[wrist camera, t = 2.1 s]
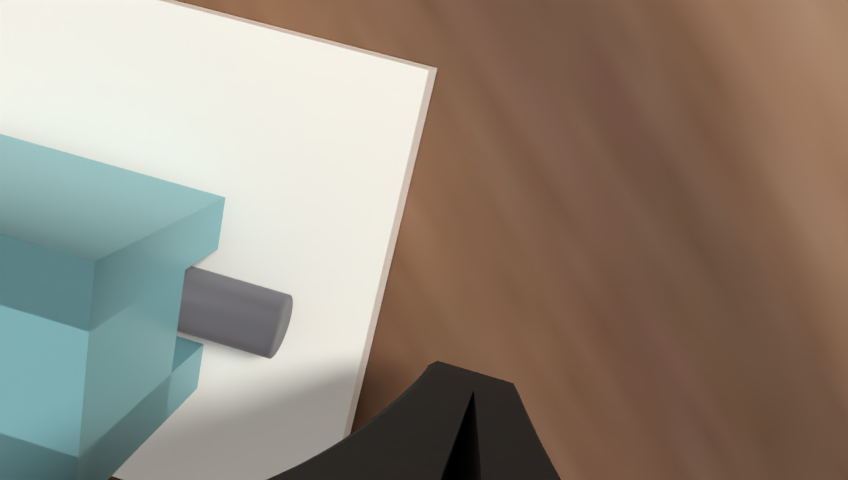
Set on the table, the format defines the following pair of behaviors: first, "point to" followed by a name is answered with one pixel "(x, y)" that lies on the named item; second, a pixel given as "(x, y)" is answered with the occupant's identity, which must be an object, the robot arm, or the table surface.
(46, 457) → the sleeve
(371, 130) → the cable board
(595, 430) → the table surface
